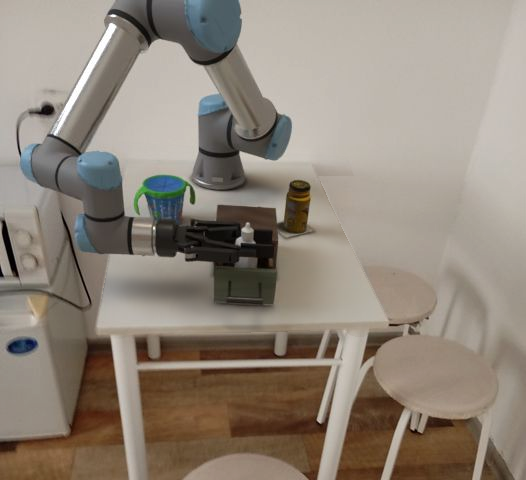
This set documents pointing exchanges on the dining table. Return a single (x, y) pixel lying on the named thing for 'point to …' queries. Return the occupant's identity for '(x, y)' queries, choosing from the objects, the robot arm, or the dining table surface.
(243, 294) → the drawer
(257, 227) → the cabinet
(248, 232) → the eye dropper bottle
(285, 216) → the condiment
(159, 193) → the snack cup
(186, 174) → the dining table surface
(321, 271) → the dining table surface
